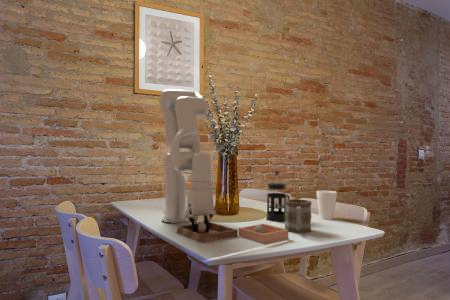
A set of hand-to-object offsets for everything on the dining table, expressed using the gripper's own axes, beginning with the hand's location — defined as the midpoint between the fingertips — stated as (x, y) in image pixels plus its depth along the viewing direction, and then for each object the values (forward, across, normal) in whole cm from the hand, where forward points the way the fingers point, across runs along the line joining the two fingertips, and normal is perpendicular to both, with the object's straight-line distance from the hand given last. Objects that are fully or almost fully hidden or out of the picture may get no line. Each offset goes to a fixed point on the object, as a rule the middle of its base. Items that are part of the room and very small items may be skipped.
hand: (200, 232), depth 131 cm
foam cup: (+1, -68, +11) cm, 68 cm away
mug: (+1, -34, +20) cm, 40 cm away
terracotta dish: (+1, -16, +19) cm, 24 cm away
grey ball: (0, -13, +18) cm, 23 cm away
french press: (+1, -46, -1) cm, 46 cm away
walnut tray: (+1, 0, +4) cm, 4 cm away
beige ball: (0, 0, 0) cm, 0 cm away
